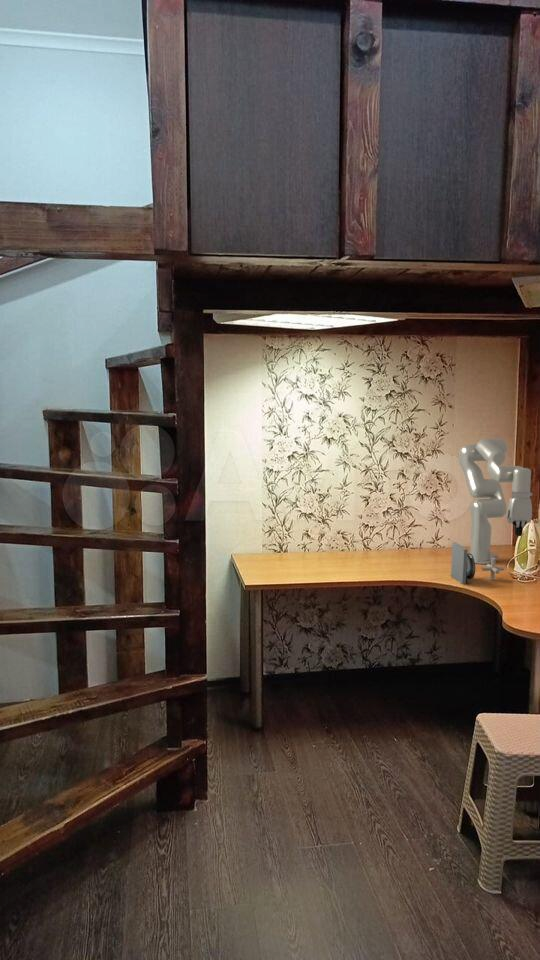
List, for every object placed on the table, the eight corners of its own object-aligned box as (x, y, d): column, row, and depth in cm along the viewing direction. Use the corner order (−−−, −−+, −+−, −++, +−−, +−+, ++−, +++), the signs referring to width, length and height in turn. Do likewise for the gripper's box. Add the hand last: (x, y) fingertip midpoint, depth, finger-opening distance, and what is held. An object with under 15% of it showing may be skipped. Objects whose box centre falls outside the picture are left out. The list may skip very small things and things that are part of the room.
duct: (463, 574, 303) (465, 550, 301) (474, 582, 292) (476, 556, 290) (454, 575, 302) (455, 550, 301) (465, 582, 291) (466, 557, 289)
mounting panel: (462, 575, 304) (464, 542, 301) (474, 584, 291) (476, 549, 289) (450, 576, 303) (452, 542, 301) (462, 584, 290) (464, 549, 288)
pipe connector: (477, 576, 303) (478, 555, 302) (498, 576, 304) (499, 555, 303) (486, 582, 293) (487, 561, 292) (507, 582, 294) (509, 560, 293)
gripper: (532, 494, 299) (529, 533, 301) (501, 494, 297) (498, 534, 300) (540, 496, 292) (538, 537, 294) (508, 497, 290) (506, 537, 292)
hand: (518, 535), depth 297 cm, fingers closed
